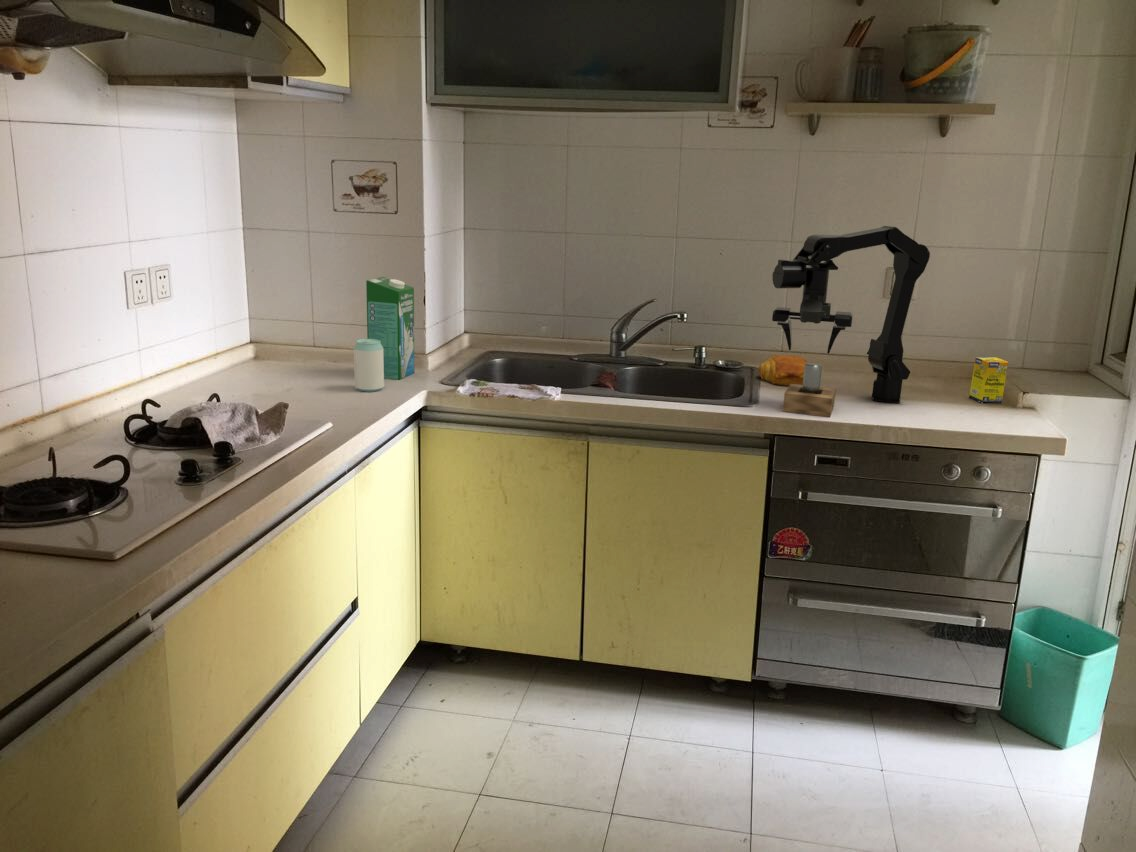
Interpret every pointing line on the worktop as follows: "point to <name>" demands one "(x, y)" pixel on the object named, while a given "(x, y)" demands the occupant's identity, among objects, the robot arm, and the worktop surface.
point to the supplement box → (988, 379)
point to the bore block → (809, 401)
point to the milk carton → (392, 324)
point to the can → (368, 365)
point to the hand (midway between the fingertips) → (809, 351)
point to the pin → (812, 378)
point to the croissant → (783, 370)
